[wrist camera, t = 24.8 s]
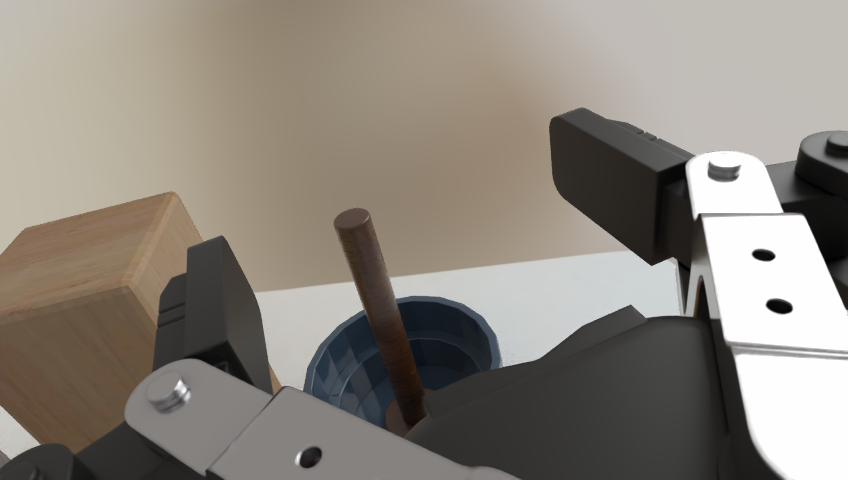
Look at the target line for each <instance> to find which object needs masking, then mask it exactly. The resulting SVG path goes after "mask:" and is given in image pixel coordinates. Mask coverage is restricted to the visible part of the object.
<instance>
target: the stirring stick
mask: <svg viewBox="0 0 848 480" xmlns="http://www.w3.org/2000/svg"><path fill="white" fill-rule="evenodd" d="M334 227H335V230H336V232H337V235H338V238H339V241H340V244H341V246H342V249H343V252H344V255H345V258H346V260H347V263H348V266H349V269H350V272H351V274H352V277H353V280H354V283H355V286H356V288H357V291H358V294H359V297H360V300H361V303H362V305H363V308H364V311H365V314H366V317H367V319H368V322H369V325H370V328H371V331H372V333H373V336H374V339H375V342H376V345H377V347H378V350H379V353H380V356H381V359H382V361H383V364H384V367H385V370H386V373H387V376H388V378H389V381H390V384H391V387H392V390H393V392H394V395H395V398H394V399H393V400H392V402H391V403H390V404H389V406H388V408H387V410H386V414H385V424H386V428H387V430H388V431H389V432H391V433H393V434H395V435H397V436H399V437H401V438H404V437H405V436H406V434H407V433H408V432H409V431H410V430H411V429H412V428H413V427H414V426H415V425H416V424H417V423H418V422H419V421H421V420H422V419H423V418H425V417H426V416H427V415H428V414H427V411H426V408H425V404H424V401H423V398H422V397H423V396H425V395H427V394H430V393H432V392H434V390H432V389H429V388H423V387H422V384H421V381H420V377H419V374H418V371H417V368H416V364H415V361H414V358H413V354H412V351H411V348H410V345H409V341H408V338H407V335H406V331H405V328H404V325H403V322H402V318H401V315H400V312H399V308H398V305H397V302H396V299H395V295H394V292H393V289H392V286H391V282H390V279H389V276H388V273H387V269H386V266H385V263H384V259H383V256H382V253H381V249H380V246H379V243H378V240H377V236H376V233H375V230H374V227H373V223H372V220H371V217H370V214H369V212H368V211H367V210H365V209H362V208H354V209H349V210H347V211H344V212H342V213H341V214H339V215H338V216H337V217H336V218H335V220H334Z"/></svg>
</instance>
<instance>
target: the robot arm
mask: <svg viewBox="0 0 848 480" xmlns="http://www.w3.org/2000/svg"><path fill="white" fill-rule="evenodd" d="M549 132H550V145H551V161H552V174H553V180H554V184H555V186H556V188H557V190H558V192H559V193H560V195H561V196H562V197H563V198H564V199H565V200H567V201H568V202H569V203H570V204H572V205H573V206H574V207H576V208H577V209H578V210H580V211H581V212H582V213H583V214H585V215H586V216H587V217H589V218H590V219H591V220H592V221H594V222H595V223H596V224H598V225H599V226H600V227H602V228H603V229H604V230H605V231H607V232H608V233H609V234H611V235H612V236H613V237H615V238H616V239H617V240H618V241H620V242H621V243H622V244H624V245H625V246H626V247H627V248H629V249H630V250H631V251H633V252H634V253H635V254H636V255H638V256H639V257H640V258H642V259H643V260H644V261H645V262H647V263H648V264H649V265H651V266H653V265H655V264H657V263H660V262H662V261H664V260H667V259H669V258H671V257H674V258H675V259H677V260H676V272H675V274H676V283H677V293H678V302H679V311H680V316H659V317H650V318H645V317H644V316H643V315H642V314H641V313H640V312H638V311H637V310H636V309H635V308H634V307H633V306H632V305H629V306H627V307H624V308H622V309H620V310H618V311H615V312H613V313H611V314H608V315H606V316H604V317H602V318H599V319H597V320H595V321H593V322H590V323H588V324H586V325H584V326H582V327H581V328H579V329H578V330H577V331H575V332H574V333H573V334H571V335H570V336H569V337H568V338H566V339H565V340H564V341H562V342H561V343H560V344H559V345H557V346H556V347H555V348H553V349H552V350H551V351H549V352H548V353H547V354H546V355H544V356H543V357H541V358H540V359H537V360H535V361H531V362H526V363H521V364H516V365H512V366H507V367H502V368H497V369H492V370H488V371H483V372H478V373H475V374H473V375H470V376H468V377H466V378H464V379H461V380H459V381H457V382H455V383H452V384H450V385H448V386H446V387H443V388H441V389H439V390H437V391H434V392H432V393H430V394H427V395H425V396H423V397H422V398H423V401H424V404H425V408H426V411H427V414H428V415H427V416H426V417H425V418H423V419H422V420H421V421H419V422H418V423H417V424H416V425H415V426H414V427H413V428H412V429H411V430H410V431H409V432H408V433H407V434H406V436H405V437H404V438H401V437H399V436H397V435H395V434H393V433H391V432H389V431H386V430H384V429H382V428H380V427H378V426H376V425H374V424H371V423H369V422H367V421H365V420H363V419H361V418H359V417H356V416H354V415H352V414H350V413H348V412H346V411H343V410H341V409H339V408H337V407H335V406H333V405H331V404H328V403H326V402H324V401H322V400H320V399H318V398H316V397H313V396H311V395H309V394H307V393H305V392H303V391H301V390H298V389H296V388H294V387H290V386H283V387H282V388H281V389H280V390H279V391H278V392H277V393H276V394H275V395H273V388H272V382H271V375H270V369H269V363H268V356H267V350H266V343H265V337H264V331H263V324H262V318H261V313H260V309H259V306H258V303H257V300H256V297H255V295H254V293H253V290H252V288H251V286H250V284H249V283H248V281H247V279H246V277H245V275H244V273H243V271H242V269H241V267H240V265H239V264H238V261H237V260H236V257H235V256H234V254H233V252H232V250H231V248H230V246H229V244H228V242H227V241H226V239H225V238H224V237H223V236H222V235H221V236H219V237H216V238H213V239H210V240H207V241H205V242H202V243H199V244H196V245H193V246H191V247H188V249H187V270H186V273H183V274H180V275H177V276H175V277H172V278H171V279H170V281H169V282H168V284H167V285H166V287H165V289H164V290H163V292H162V293H161V295H160V300H159V310H158V312H159V315H158V320H157V327H158V329H157V330H156V339H155V349H154V359H153V369H152V373H151V374H150V375H149V376H147V377H146V378H145V379H144V380H143V381H142V382H141V383H140V384H139V385H138V386H137V387H136V388H135V389H134V391H133V392H132V394H131V395H130V397H129V399H128V401H127V403H126V406H125V411H124V415H125V421H123V422H122V423H121V424H120V425H118V426H117V427H116V428H114V429H113V430H111V431H110V432H108V433H107V434H105V435H104V436H102V437H101V438H99V439H98V440H96V441H95V442H93V443H92V444H90V445H89V446H87V447H86V448H84V449H83V450H81V451H79V452H78V453H76V454H74V453H73V452H72V451H71V450H70V449H69V448H68V447H66V446H65V445H63V444H60V443H48V444H43V445H39V446H36V447H34V448H31V449H29V450H27V451H25V452H23V453H21V454H20V455H18V456H16V457H15V458H13V459H12V460H10V461H9V462H8V463H6V464H5V465H4V466H2V467H1V468H0V480H848V314H847V312H846V309H847V310H848V131H826V132H820V133H816V134H812V135H810V136H807V137H806V138H804V139H803V140H802V141H801V144H800V148H799V152H798V157H797V160H796V161H791V162H785V163H779V164H774V165H767V166H765V165H764V163H763V162H762V161H761V160H759V159H757V158H756V157H754V156H751V155H748V154H745V153H741V152H735V151H712V152H707V153H702V154H700V155H697V156H695V155H693V154H691V153H689V152H687V151H685V150H683V149H681V148H679V147H677V146H675V145H672V144H670V143H668V142H666V141H664V140H662V139H657V138H656V136H654V135H652V134H649V133H648V132H646V133H644V131H643V130H641V129H639V128H637V127H635V126H633V125H631V124H629V123H625V122H620V121H614V120H609V119H605V118H604V117H602V116H600V115H598V114H596V113H594V112H592V111H590V110H588V109H586V108H578V109H575V110H573V111H570V112H567V113H564V114H561V115H559V116H556V117H553V118H552V119H551V122H550V126H549Z"/></svg>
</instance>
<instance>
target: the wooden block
mask: <svg viewBox="0 0 848 480" xmlns="http://www.w3.org/2000/svg"><path fill="white" fill-rule="evenodd" d="M202 242H203V240H202V238H201V236H200V234H199V232H198V230H197V229H196V227H195V225H194V223H193V221H192V219H191V217H190V216H189V214H188V212H187V210H186V208H185V206H184V204H183V203H182V201H181V199H180V197H179V195H178V194H177V193H176V192H167V193H163V194H159V195H155V196H151V197H147V198H143V199H139V200H135V201H131V202H127V203H123V204H120V205H116V206H111V207H107V208H104V209H99V210H96V211H92V212H87V213H83V214H79V215H75V216H72V217H68V218H64V219H60V220H56V221H52V222H48V223H44V224H40V225H36V226H32V227H28V228H26V229H24V230H23V231H22V232H21V233H20V234H19V235H18V236H17V237H16V239H15V240H14V241H13V242H12V243H11V244H10V245H9V246H8V248H7V249H6V250H5V251H4V252H3V253H2V254H1V255H0V405H1V406H2V407H3V408H4V409H5V410H6V411H7V412H8V413H9V414H10V415H11V416H12V417H13V418H14V419H15V420H16V421H17V422H18V423H19V424H20V425H21V426H22V427H23V428H24V429H25V430H26V431H28V432H29V433H30V434H31V435H32V436H33V437H34V438H35V439H36V440H37V441H38V442H39V443H40V444H41V445H43V444H48V443H60V444H63V445H65V446H66V447H68V448H69V449H70V450H71V451H72V452H73V453H74V454H76V453H78V452H79V451H81V450H83V449H84V448H86V447H87V446H89V445H90V444H92V443H93V442H95V441H96V440H98V439H99V438H101V437H102V436H104V435H105V434H107V433H108V432H110V431H111V430H113V429H114V428H116V427H117V426H118V425H120V424H121V423H122V422H123V421H125V415H124V411H125V406H126V403H127V401H128V399H129V397H130V395H131V394H132V392H133V391H134V389H135V388H136V387H137V386H138V385H139V384H140V383H141V382H142V381H143V380H144V379H145V378H146V377H147V376H149V375H150V374H151V373H152V369H153V359H154V349H155V339H156V330H157V329H158V327H157V320H158V315H159V312H158V310H159V300H160V295H161V293H162V292H163V290H164V289H165V287H166V285H167V284H168V282H169V281H170V279H171V278H172V277H175V276H177V275H180V274H183V273H186V270H187V249H188V247H191V246H193V245H196V244H199V243H202ZM268 363H269V362H268ZM269 369H270V375H271V382H272V388H273V395H275V394H276V393H277V392H278V391H279V390H280V389H281V388H282V387H281V385H280V383H279V381H278V379H277V377H276V375H275V374H274V372H273V370H272V368H271V366H270V364H269Z"/></svg>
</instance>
